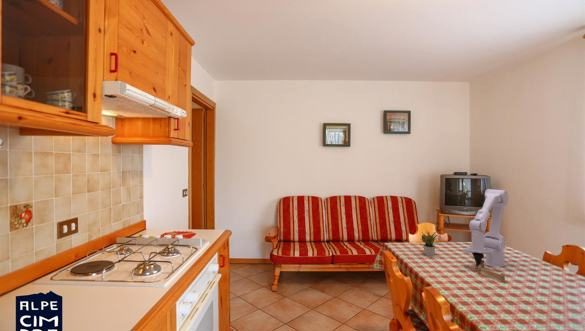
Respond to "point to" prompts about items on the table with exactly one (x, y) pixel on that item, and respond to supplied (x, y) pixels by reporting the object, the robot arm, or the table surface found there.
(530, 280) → the table surface
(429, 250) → the house plant
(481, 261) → the fence panel
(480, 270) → the fence fixed
